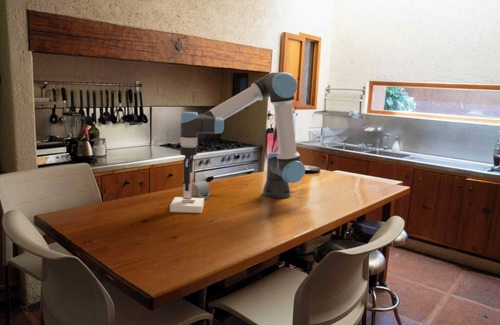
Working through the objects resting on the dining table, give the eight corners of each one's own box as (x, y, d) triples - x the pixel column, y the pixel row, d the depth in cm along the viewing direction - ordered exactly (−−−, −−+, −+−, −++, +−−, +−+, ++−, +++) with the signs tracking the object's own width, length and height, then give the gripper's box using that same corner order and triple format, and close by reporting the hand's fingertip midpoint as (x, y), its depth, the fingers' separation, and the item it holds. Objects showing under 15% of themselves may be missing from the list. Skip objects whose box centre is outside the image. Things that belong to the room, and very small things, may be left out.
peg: (192, 197, 192) (192, 172, 190) (191, 199, 188) (191, 174, 186) (183, 197, 192) (184, 172, 190) (182, 199, 188) (183, 173, 186)
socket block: (204, 204, 198) (204, 198, 198) (201, 212, 184) (201, 206, 184) (174, 203, 198) (175, 197, 197) (169, 211, 184) (170, 205, 183)
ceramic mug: (188, 195, 212) (188, 181, 210) (201, 193, 217) (201, 179, 216) (200, 200, 204) (201, 185, 203) (213, 198, 210) (214, 183, 208)
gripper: (183, 143, 194) (182, 191, 198) (177, 148, 177) (176, 200, 181) (198, 144, 194) (197, 191, 198) (194, 149, 177) (193, 201, 182)
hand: (187, 196), depth 190 cm, fingers closed on peg, 4 cm apart
